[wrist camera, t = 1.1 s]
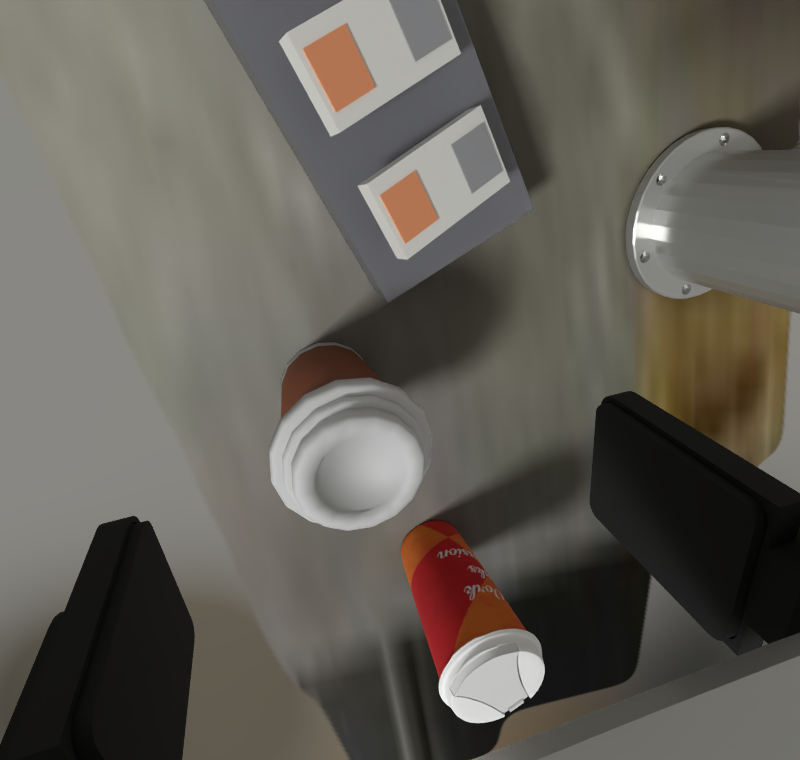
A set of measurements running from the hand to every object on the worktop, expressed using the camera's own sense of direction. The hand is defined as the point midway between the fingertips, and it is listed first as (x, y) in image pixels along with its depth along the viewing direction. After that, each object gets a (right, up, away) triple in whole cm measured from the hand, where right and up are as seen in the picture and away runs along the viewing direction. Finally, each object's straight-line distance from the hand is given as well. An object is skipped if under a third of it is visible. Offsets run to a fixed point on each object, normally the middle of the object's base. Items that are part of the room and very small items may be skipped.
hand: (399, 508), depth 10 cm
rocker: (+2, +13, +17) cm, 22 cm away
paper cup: (+3, -12, +35) cm, 37 cm away
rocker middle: (-1, +19, +14) cm, 23 cm away
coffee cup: (-5, +2, +26) cm, 27 cm away
